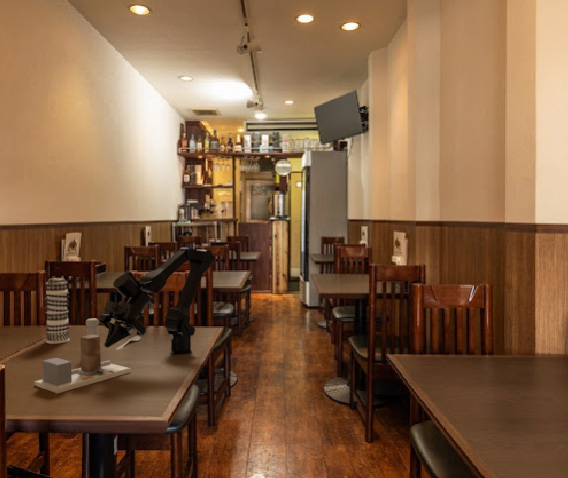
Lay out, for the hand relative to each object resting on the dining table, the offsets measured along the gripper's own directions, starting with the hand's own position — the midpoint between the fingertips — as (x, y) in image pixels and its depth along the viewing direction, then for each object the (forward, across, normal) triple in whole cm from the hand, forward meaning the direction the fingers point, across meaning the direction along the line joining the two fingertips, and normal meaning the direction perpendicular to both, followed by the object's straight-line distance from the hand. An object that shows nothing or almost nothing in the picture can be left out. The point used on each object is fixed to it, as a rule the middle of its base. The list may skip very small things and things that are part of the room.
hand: (105, 346), depth 157 cm
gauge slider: (+8, +1, +1) cm, 9 cm away
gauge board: (+11, 0, 0) cm, 11 cm away
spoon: (-12, -26, +25) cm, 38 cm away
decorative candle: (-4, -54, +16) cm, 56 cm away
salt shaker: (-1, -22, +13) cm, 26 cm away
